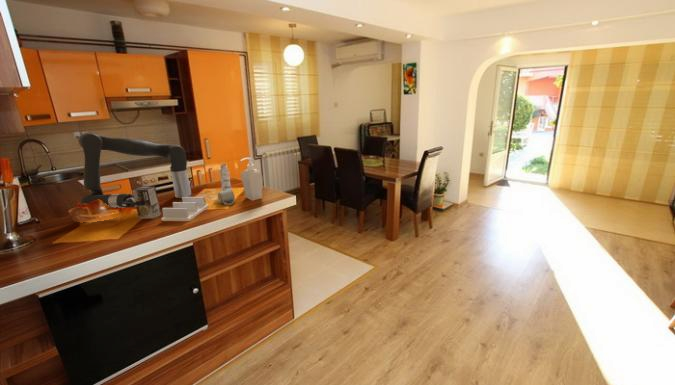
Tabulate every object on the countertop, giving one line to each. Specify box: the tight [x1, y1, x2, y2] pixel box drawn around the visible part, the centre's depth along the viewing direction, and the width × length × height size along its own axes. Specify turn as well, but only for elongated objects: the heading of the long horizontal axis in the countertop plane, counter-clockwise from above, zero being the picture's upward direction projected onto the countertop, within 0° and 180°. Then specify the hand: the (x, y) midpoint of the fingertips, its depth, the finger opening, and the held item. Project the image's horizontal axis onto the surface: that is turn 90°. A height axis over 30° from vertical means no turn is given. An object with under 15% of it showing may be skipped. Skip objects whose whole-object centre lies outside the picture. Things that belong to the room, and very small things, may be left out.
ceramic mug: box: [217, 189, 236, 206], centre depth 185 cm, size 11×8×8 cm
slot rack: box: [160, 196, 209, 222], centre depth 169 cm, size 21×15×6 cm
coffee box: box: [131, 186, 162, 219], centre depth 165 cm, size 9×6×16 cm
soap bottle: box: [239, 156, 264, 201], centre depth 190 cm, size 12×10×26 cm
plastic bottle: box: [218, 163, 233, 192], centre depth 200 cm, size 6×7×20 cm
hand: (149, 200), depth 164 cm, fingers open, 8 cm apart
